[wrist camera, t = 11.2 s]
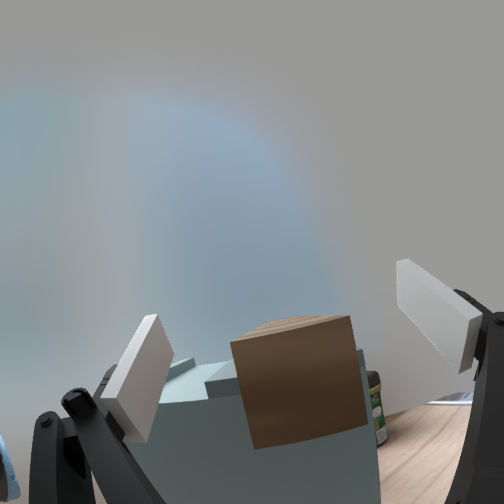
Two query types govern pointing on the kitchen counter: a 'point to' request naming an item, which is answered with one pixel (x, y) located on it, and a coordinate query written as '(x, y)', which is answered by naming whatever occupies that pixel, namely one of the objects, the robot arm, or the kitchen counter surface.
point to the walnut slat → (299, 379)
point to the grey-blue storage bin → (247, 449)
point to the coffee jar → (377, 407)
